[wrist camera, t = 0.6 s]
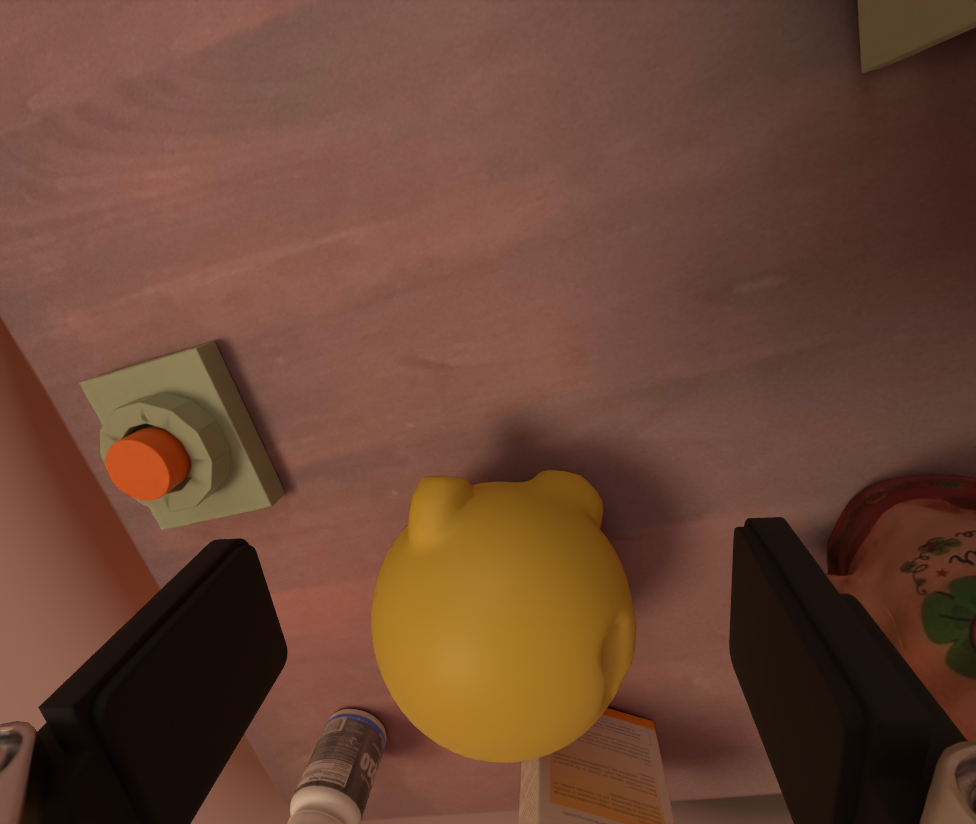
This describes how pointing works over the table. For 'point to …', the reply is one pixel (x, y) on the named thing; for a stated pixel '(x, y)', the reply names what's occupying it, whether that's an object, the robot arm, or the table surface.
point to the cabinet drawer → (908, 27)
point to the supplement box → (599, 777)
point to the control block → (190, 432)
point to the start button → (148, 463)
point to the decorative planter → (917, 579)
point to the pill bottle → (340, 770)
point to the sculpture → (503, 615)
